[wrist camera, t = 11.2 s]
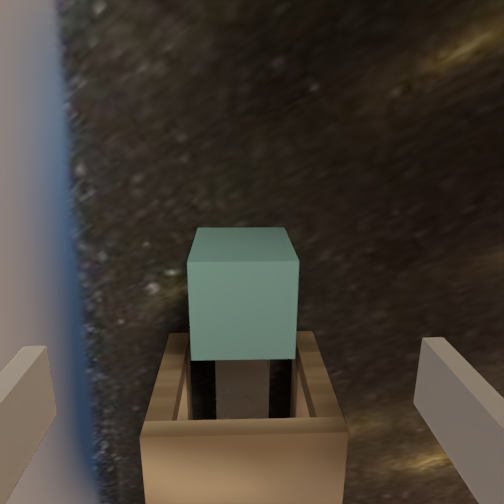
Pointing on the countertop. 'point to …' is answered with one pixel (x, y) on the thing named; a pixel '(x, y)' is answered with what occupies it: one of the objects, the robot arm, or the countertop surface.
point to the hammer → (242, 389)
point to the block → (242, 294)
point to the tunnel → (244, 440)
